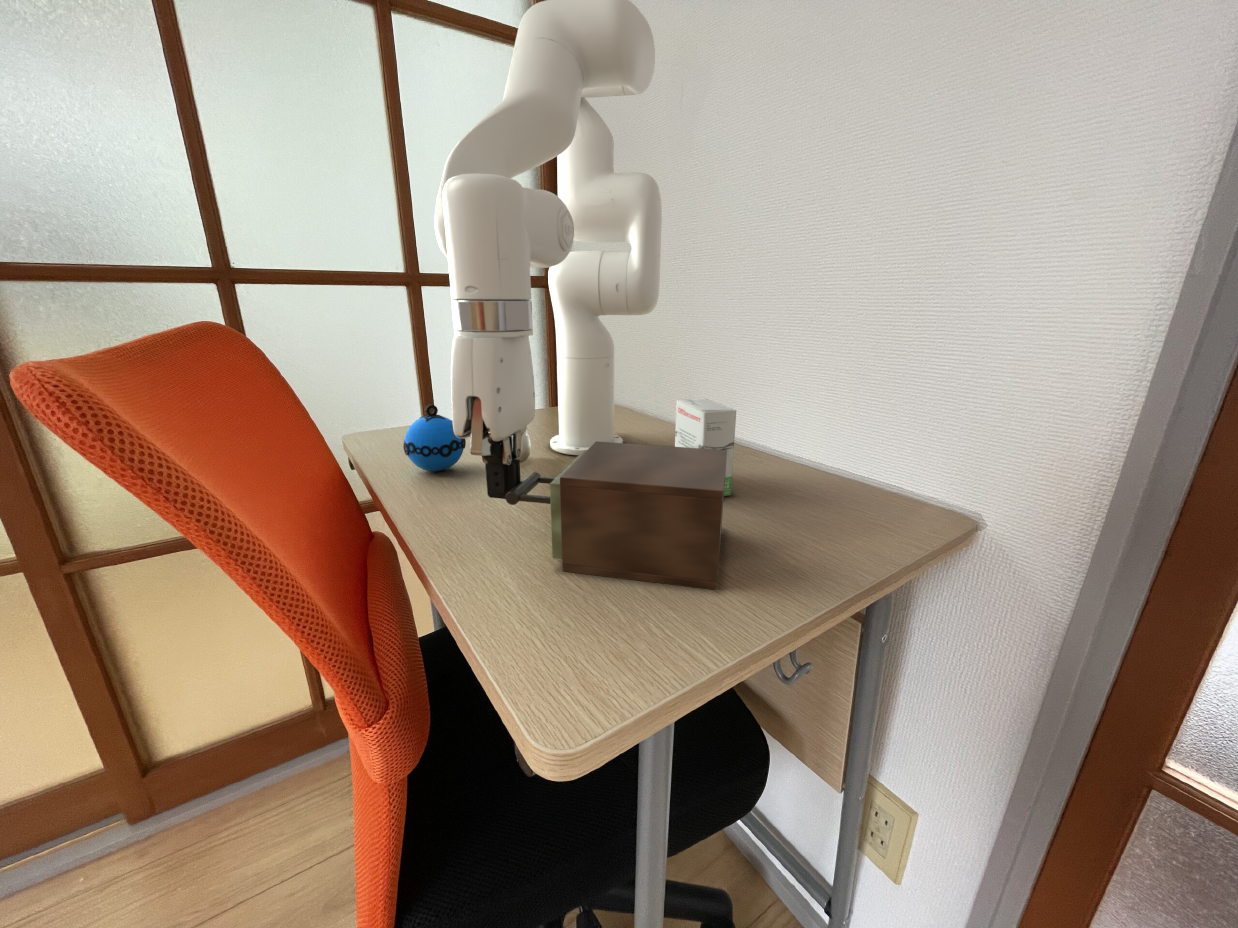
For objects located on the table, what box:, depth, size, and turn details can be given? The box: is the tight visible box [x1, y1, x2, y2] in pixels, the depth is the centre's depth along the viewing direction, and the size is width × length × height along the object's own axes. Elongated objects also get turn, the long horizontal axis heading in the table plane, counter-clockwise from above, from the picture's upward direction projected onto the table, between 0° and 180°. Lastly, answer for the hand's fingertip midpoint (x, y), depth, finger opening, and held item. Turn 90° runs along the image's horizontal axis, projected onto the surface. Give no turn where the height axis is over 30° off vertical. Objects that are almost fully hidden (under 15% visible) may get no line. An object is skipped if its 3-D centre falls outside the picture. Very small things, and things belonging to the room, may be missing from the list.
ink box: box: [674, 398, 737, 497], centre depth 71 cm, size 9×5×12 cm, turn 19°
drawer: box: [505, 450, 587, 560], centre depth 55 cm, size 19×11×8 cm, turn 77°
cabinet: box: [560, 441, 727, 591], centre depth 54 cm, size 15×13×10 cm
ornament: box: [402, 404, 467, 473], centre depth 77 cm, size 9×9×10 cm
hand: (504, 495), depth 57 cm, fingers closed
